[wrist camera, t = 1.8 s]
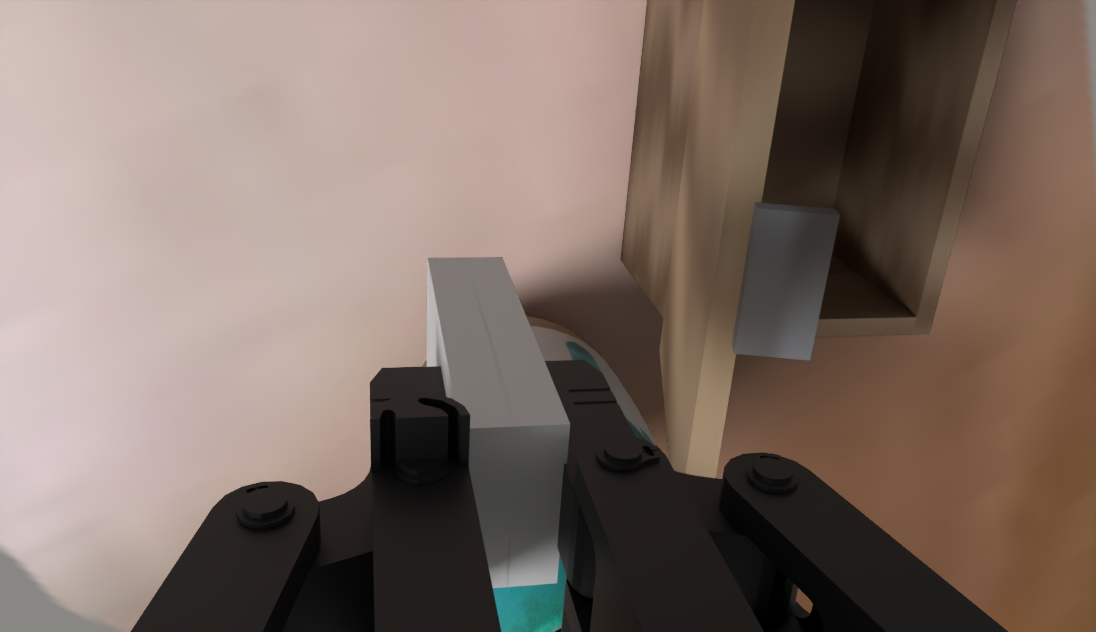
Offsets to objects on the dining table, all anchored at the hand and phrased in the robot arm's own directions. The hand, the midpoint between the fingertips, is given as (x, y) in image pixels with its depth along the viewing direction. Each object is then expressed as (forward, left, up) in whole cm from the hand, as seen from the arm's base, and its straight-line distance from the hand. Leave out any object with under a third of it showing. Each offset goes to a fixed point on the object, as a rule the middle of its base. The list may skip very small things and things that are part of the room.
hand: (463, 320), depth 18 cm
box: (0, +16, -23) cm, 27 cm away
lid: (0, +10, -7) cm, 12 cm away
